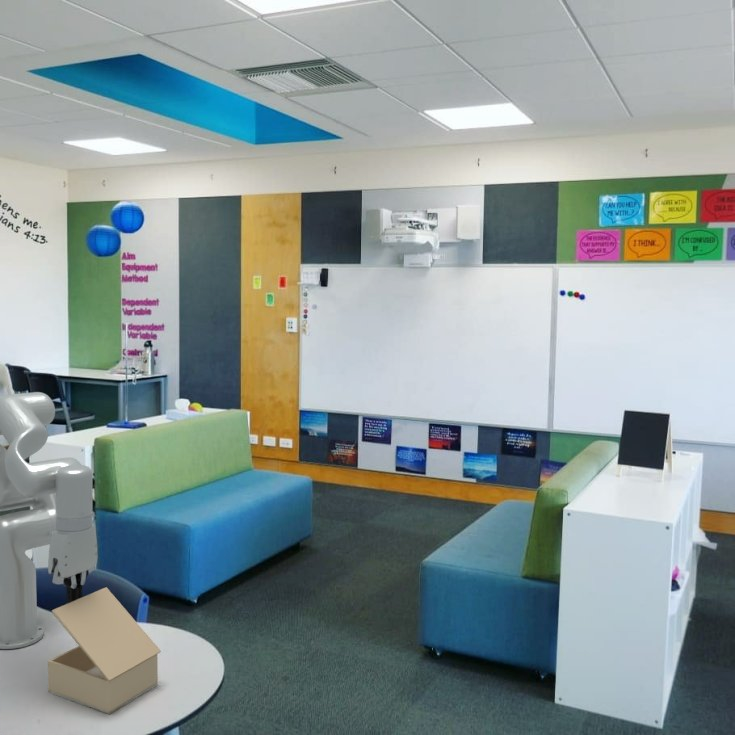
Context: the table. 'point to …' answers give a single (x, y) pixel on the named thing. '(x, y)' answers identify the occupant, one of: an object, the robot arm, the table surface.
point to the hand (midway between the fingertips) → (74, 602)
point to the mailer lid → (106, 633)
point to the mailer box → (98, 681)
